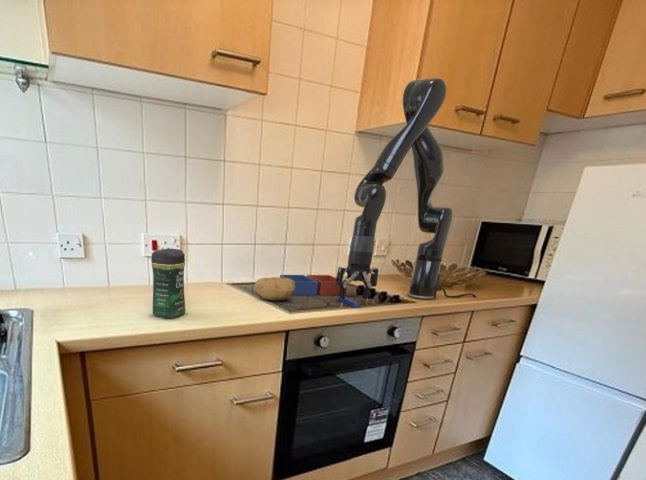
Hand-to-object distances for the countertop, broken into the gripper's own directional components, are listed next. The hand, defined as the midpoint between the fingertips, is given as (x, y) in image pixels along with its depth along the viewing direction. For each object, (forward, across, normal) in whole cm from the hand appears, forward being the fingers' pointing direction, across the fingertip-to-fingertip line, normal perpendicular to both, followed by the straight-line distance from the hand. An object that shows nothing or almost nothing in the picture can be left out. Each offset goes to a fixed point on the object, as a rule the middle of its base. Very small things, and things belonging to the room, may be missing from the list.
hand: (353, 298), depth 139 cm
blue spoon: (+3, 0, +4) cm, 5 cm away
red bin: (+3, 0, +25) cm, 25 cm away
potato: (+3, -26, +9) cm, 27 cm away
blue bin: (+3, -11, +25) cm, 27 cm away
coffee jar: (+4, -63, -8) cm, 63 cm away
